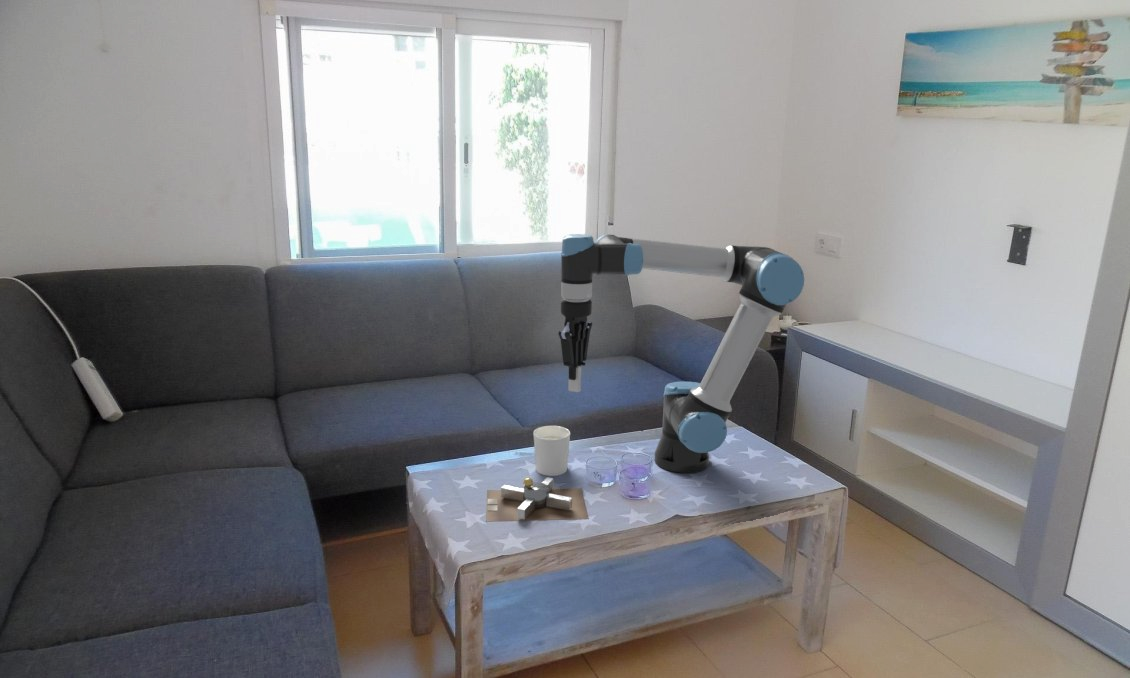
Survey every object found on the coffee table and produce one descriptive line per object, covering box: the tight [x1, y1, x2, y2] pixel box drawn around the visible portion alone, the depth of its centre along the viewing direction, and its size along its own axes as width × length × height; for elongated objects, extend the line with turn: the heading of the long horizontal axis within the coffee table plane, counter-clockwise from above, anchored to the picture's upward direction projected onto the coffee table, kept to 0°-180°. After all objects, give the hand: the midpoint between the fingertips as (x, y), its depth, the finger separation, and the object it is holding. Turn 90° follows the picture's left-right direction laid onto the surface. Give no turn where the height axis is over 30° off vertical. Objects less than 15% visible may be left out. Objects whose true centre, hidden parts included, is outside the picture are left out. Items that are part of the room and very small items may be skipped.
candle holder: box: [532, 425, 571, 477], centre depth 208 cm, size 10×10×12 cm
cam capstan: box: [500, 476, 572, 520], centre depth 188 cm, size 18×18×6 cm
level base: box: [485, 487, 590, 523], centre depth 189 cm, size 24×16×2 cm, turn 95°
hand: (574, 390), depth 195 cm, fingers closed
